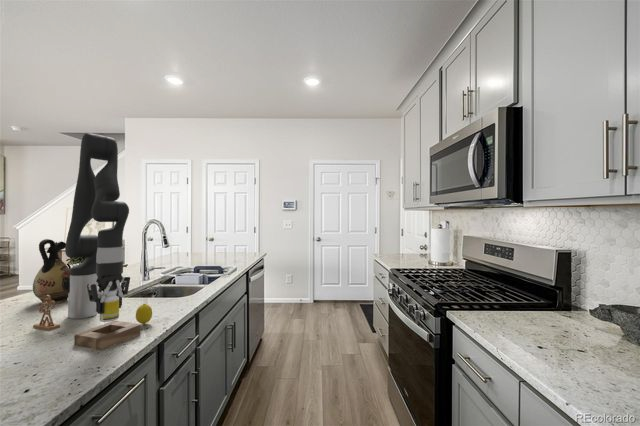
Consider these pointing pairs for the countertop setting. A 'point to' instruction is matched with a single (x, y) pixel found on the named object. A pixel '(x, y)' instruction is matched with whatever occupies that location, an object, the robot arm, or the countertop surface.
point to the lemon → (144, 314)
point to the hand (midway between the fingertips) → (109, 310)
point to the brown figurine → (49, 324)
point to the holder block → (107, 335)
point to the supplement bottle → (110, 307)
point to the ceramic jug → (52, 274)
